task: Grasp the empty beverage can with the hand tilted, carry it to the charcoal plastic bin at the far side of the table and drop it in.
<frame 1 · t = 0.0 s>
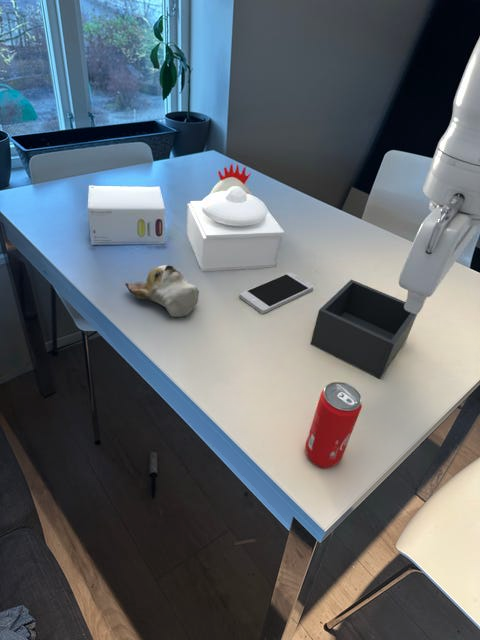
hand: (424, 293, 55), 23 cm above the table, tool pointing down, fingers open, 8 cm apart
supplement box: (128, 233, 109), on the table
ceramic sculpture: (167, 303, 87), on the table
beverage can: (322, 455, 63), on the table
bin: (359, 342, 83), on the table
smartphone: (276, 293, 94), on the table
butter dish: (230, 251, 107), on the table
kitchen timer: (229, 221, 120), on the table
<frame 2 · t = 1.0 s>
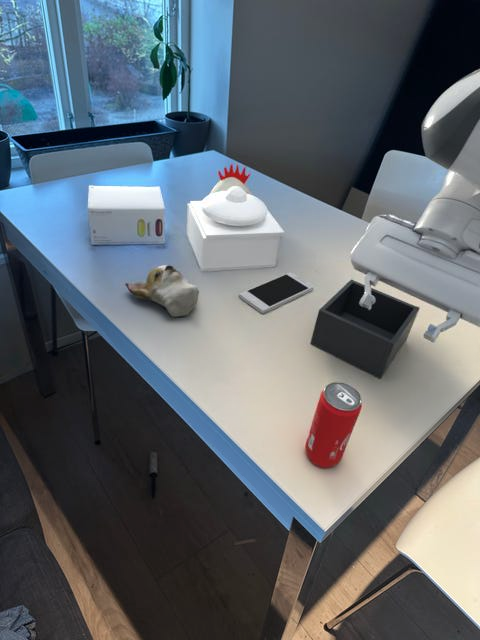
hand: (395, 322, 60), 17 cm above the table, tool tilted 45°, fingers open, 8 cm apart
nothing on the table moved.
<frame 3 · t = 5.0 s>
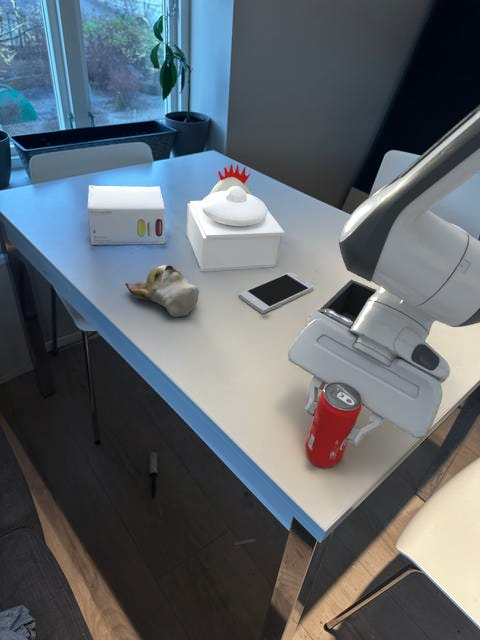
hand: (330, 427, 58), 6 cm above the table, tool tilted 45°, fingers closed on beverage can, 5 cm apart
beverage can: (321, 455, 63), on the table, touching gripper
everything else where it was.
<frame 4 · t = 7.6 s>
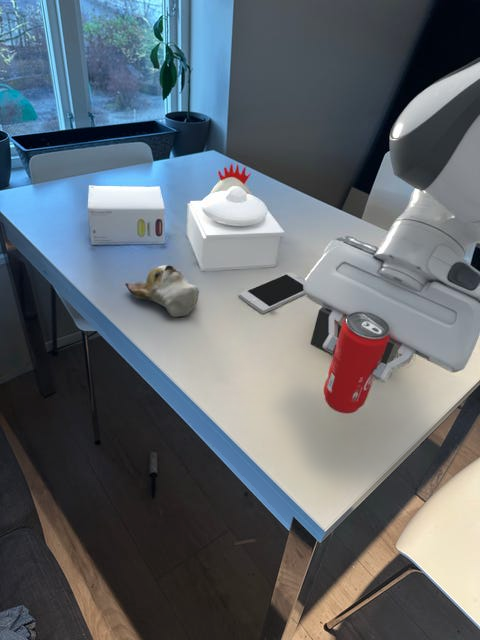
hand: (352, 365, 51), 18 cm above the table, tool tilted 45°, fingers closed on beverage can, 5 cm apart
beverage can: (342, 401, 56), point 11 cm above the table, touching gripper
everything else where it was.
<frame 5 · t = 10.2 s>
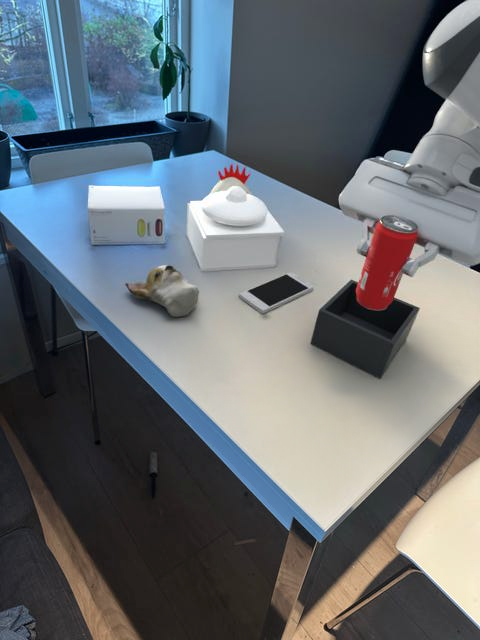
hand: (383, 263, 59), 24 cm above the table, tool tilted 45°, fingers closed on beverage can, 5 cm apart
beverage can: (371, 302, 63), point 17 cm above the table, touching gripper
everything else where it was.
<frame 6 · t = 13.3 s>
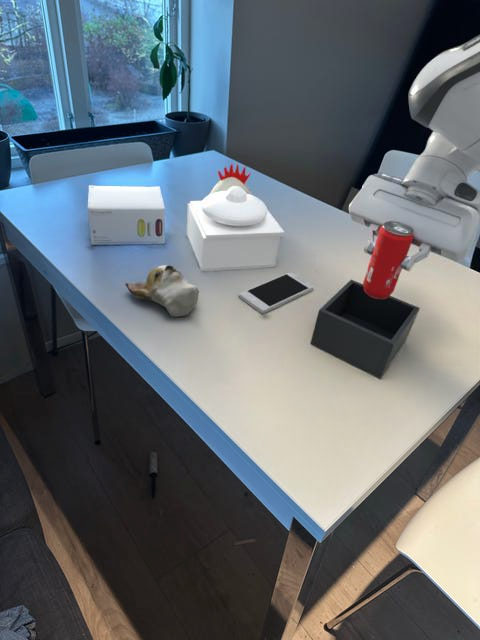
hand: (386, 260, 72), 18 cm above the table, tool tilted 45°, fingers closed on beverage can, 5 cm apart
beverage can: (376, 292, 77), point 11 cm above the table, touching gripper
everything else where it was.
when the fingers open (12 cm above the table, at t = 15.4 s): beverage can drops 5 cm, resting on bin.
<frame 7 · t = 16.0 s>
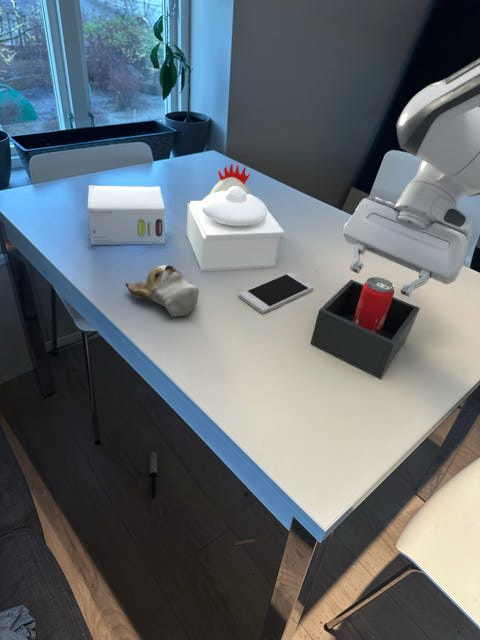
hand: (378, 282, 75), 14 cm above the table, tool tilted 45°, fingers open, 8 cm apart
beverage can: (362, 340, 83), point 1 cm above the table, touching bin
everything else where it was.
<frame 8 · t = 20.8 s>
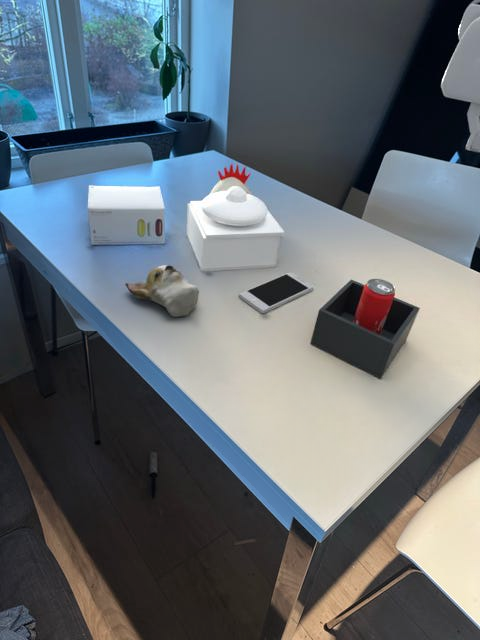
nothing on the table moved.
at the end: beverage can inside the target area in the bin (0.4 cm from its centre), point 0.6 cm above the bin's base; the gripper is holding nothing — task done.
